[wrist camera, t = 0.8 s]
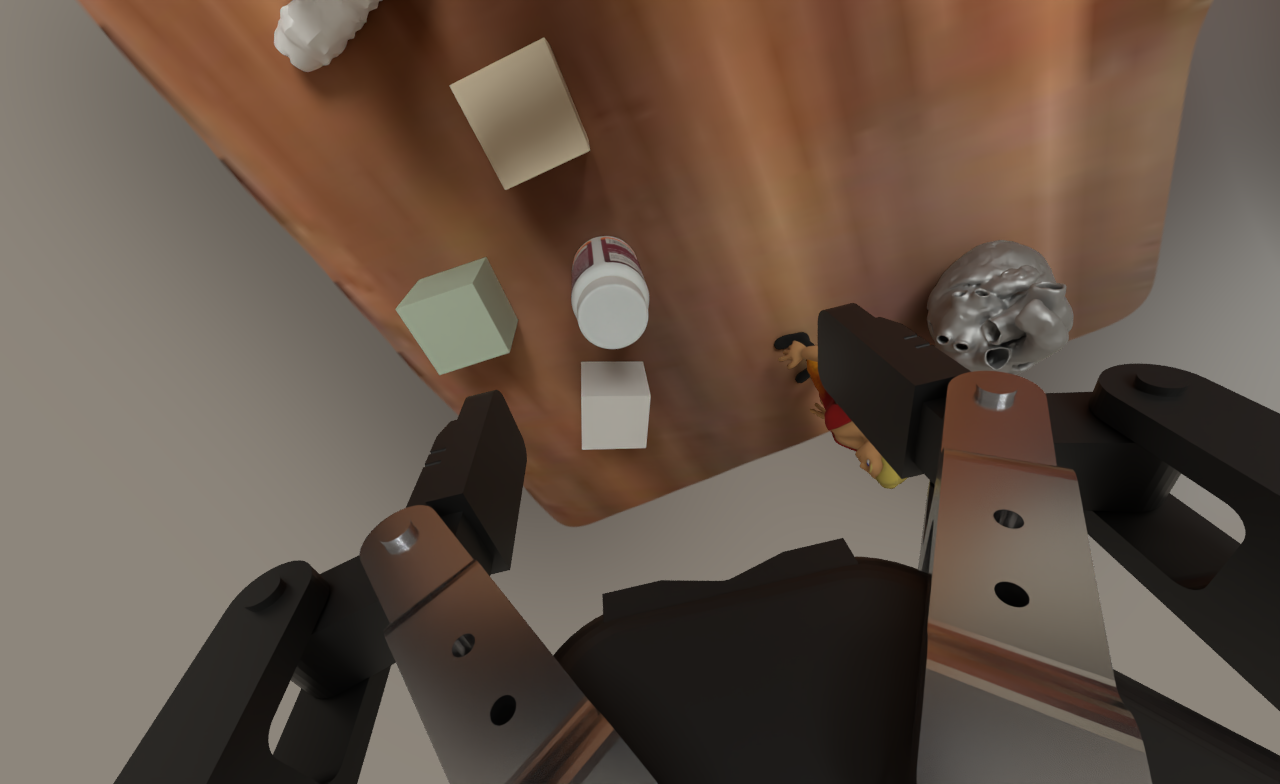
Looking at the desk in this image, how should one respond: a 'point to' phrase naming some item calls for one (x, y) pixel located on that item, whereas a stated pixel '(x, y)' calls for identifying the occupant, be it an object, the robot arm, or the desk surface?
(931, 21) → the desk surface
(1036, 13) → the desk surface
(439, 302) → the sage block
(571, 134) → the birch block
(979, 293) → the heart
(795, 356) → the action figure
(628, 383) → the grey block
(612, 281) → the pill bottle
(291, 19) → the white creature statuette
